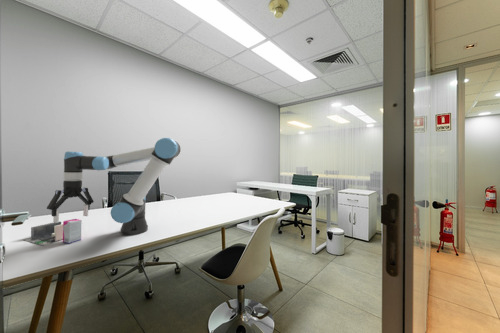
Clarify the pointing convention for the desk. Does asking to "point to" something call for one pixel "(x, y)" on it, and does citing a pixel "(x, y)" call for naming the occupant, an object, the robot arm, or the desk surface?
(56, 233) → the plunger
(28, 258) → the desk surface
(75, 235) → the supplement box
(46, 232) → the gauge base
